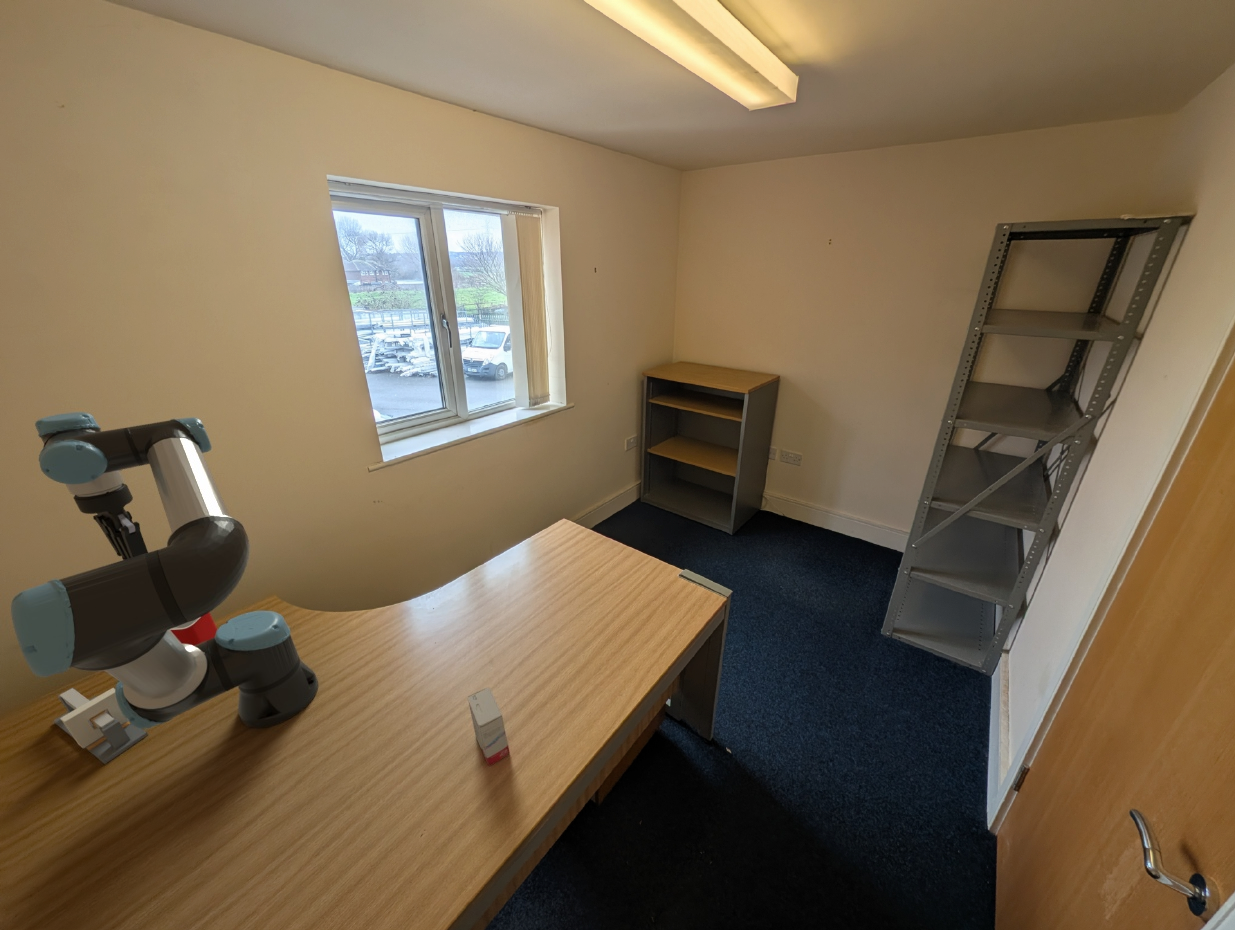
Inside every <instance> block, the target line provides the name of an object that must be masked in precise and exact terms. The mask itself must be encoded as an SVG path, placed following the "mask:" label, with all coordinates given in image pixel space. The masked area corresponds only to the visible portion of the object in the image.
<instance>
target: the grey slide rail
mask: <svg viewBox="0 0 1235 930" xmlns="http://www.w3.org/2000/svg"><path fill="white" fill-rule="evenodd" d="M57 697H58V699H59V701H60V703H62V704H63V706H64V708H65V709H66V711H67V712H66V713H65V712H64V714H62V715H60V716H59V717H56V718H55V719H53V720H52V722H53V724H55V725H56V726H58V727H59V728H61V730H63V731H64V732H65V734H66V733H67V734H68V735H69V736H70V737H71V738H72V739H74V737H73V736H72V735H71V733H70V732H69V730H68V729H67V728H66V726H65V725H64V723H63V722H62V720H61V719H60V718H61V717H63V716H65V715H67V714H68V713H70V712H72V711H74V710H75V709H77V708H79V707H80V706H82V705H84V704H86V703H87V702H89V701H91V700H93V699H94V698H96V697H98V696H97V695H95V696H93V697H92V698H89V699H88V698H87V697H85V696H84V695H83V694H81V693H80V692H79V691H78V690H77V689H75V687H71V688H68V690H66V691H64V692H62V693H60V694H57ZM88 722H89V723H90V725H93V726H94V727H98V728H99V729H100V730H101V732H102V733H103V735H104V736H102V737H101V738H99V739H97V740H96V741H94V742H93V743H91V744H90V745H88V746H86V747H85V748H84V749H86V750H87V752H89V753H90V754H92V755H93V756H94V757H96V759H98V760H99V761H100V762H101V763H103V764H104V765H106V764H107V763H109V762H110V761H112V760H114V759H115V758H116V757H118V756H119V755H121V754H122V753H124V752H126V751H127V750H128V749H129V748H131V747H132V746H135V744H137V743H138V742H140V741H142V739H144V738H146V737H147V736H149V734H148V732H147V731H146V730H145V729H140V728H137V727H135V726H133V725H132V724H131V723H130V722H129V720H127V721H126V722H124V723H123V724H120V722H119V721H118V720H116V719H115V718H112V717H111V716H110V715H109V714H108V713H107V711H106V710H104V711H102V712H100V713H99V714H97V715H95V716H94V717H92V718H90V719H89V720H88Z"/></svg>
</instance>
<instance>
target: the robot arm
mask: <svg viewBox="0 0 1235 930" xmlns="http://www.w3.org/2000/svg"><path fill="white" fill-rule="evenodd" d="M34 426H35V428H36V431H37V433H38V434H37V436H38V437H39V438H40V439H41V441H42V442H43V446H42V450H40V452H39V455H38V462H39V468H40V471H41V472H42V473H43V474H44V475H45V477H47V478H49V479H50V480H52V481H55V482H56V483H60V484H64V485H65V487H67V489H68V491H69V494H71V495H73V500H74V502H75V504H76V506H77V507H78V509H79V511H80V512H81V513H83V514H86V515H93V514H94V515H93V516H92V519H93V520H95V522H96V524H97V525H98V526H99V527H100V529H101V530H102V532H103V534H104V535H105V537H106V538H107V540H108V541H109V544H111V546H112V548H113V549H114V552H115V553H116V555H117V557H121V559H122V560H119V561H117V562H112V563H109V564H106V565H102V566H98V567H97V568H96V567H95V568H92V569H90V570H86V571H83V572H79V573H76V574H73V575H70V576H65V577H63V578H60V579H58V578H54V579H50V580H48V581H47V582H45V583H43V584H40V585H36V586H33V587H30V588H27V589H25V590H23V591H21V592H19V593H17V594H16V595H15V596H14V597H13V599H12V600H11V605H10V614H11V615H10V616H11V621H12V624H13V629H14V631H15V632H14V633H15V636H16V640H17V641H18V645H19V647H20V648H19V649H21V652H22V655H23V657H24V659H25V662H26V664H27V666H28V667H29V669H30V671H31V672H32V674H33V675H35V676H36V677H39V678H47V677H50V676H53V675H56V674H58V675H59V674H63V673H66V672H67V671H68V670H69V669H71V668H73V669H77V670H80V671H85V672H103V671H104V672H106V674H108V675H110V676H111V677H113V678H114V679H116V680H117V683H116V684H115V688H114V689H115V694H116V699H117V703H118V705H119V708H120V710H121V712H122V714H123V715H124V716H125V718H128V720H129V722H130V723H131V724H132V725H133V726H135V727H137V728H140V729H143V730H146V729H147V730H148V729H151V728H153V727H156V726H158V725H161V724H164V723H167V722H169V721H171V720H172V719H174V718H176V717H178V716H179V715H182V714H184V713H185V712H188V711H189V710H191V709H194V708H196V707H198V706H200V705H202V704H204V703H206V702H208V701H210V700H212V699H213V698H214V699H215V698H216V697H218V696H220V695H222V694H224V693H226V692H229V691H232V690H233V689H235V688H237V687H238V689H239V694H238V707H237V708H238V709H237V712H238V715H239V717H240V719H241V722H242V723H243V724H244V725H245V726H246V727H249V728H253V729H262V728H263V729H264V728H269V727H270V728H271V727H272V726H275V725H276V726H277V725H279V724H281V723H284V722H285V721H287V720H289V719H291V718H292V717H294V716H296V715H298V714H299V713H300V712H301V711H303V710H304V709H305V708H306V707H307V706H308V705H309V704H310V703H311V701H312V700H313V699H314V698H315V696H316V694H317V692H318V689H319V680H318V678H317V675H316V673H315V671H314V670H313V669H311V668H310V667H309V666H308V665H307V664H306V663H305V662H304V661H302V660H301V659H300V658H301V657H300V655H299V653H298V650H297V648H296V645H295V643H294V641H293V638H292V635H291V628H290V627H289V625H288V624H287V622H286V620H285V618H284V616H282V614H280V613H278V612H276V611H273V610H255V611H249V612H246V613H242V614H240V615H239V614H238V615H237V616H235V617H232V618H230V619H228V620H227V621H226V622H225V623H224V624H221V625H220V626H219V628H218V627H217V631H216V635H215V637H214V638H212V639H210V640H207V641H204V642H202V643H200V644H197V645H195V646H192V645H189V644H182V643H181V642H180V641H179V640H178V639H177V638H176V636H175V635H174V634H173V633H172V632H171V630H170V629H172V628H174V627H177V626H179V625H182V624H184V623H187V622H190V621H193V620H195V619H198V618H200V617H202V616H204V615H205V614H207V613H209V612H212V611H213V610H215V609H216V608H217V607H219V606H220V605H221V604H223V602H224V601H225V600H226V599H228V597H229V596H230V595H231V594H232V592H233V591H234V590H235V589H236V587H237V586H238V585H239V583H240V582H241V579H242V577H243V575H244V574H245V571H246V569H247V565H248V562H249V557H250V548H251V547H250V542H249V541H250V540H249V537H248V534H247V531H246V529H245V527H244V525H243V524H242V523H241V521H239V520H238V519H237V518H235V517H233V516H231V515H230V512H229V511H228V508H227V506H226V504H225V502H224V500H223V497H222V495H221V493H220V491H219V488H218V485H217V484H216V482H215V478H214V476H213V475H212V473H211V471H210V467H209V465H208V463H207V461H206V459H205V456H204V453H208V452H210V451H211V450H212V444H211V441H210V438H209V435H208V433H207V431H206V428H205V426H204V424H203V422H202V420H201V419H200V418H197V417H184V418H171V419H170V420H165V421H158V422H153V423H152V422H151V423H145V424H140V425H135V426H134V425H133V426H127V427H122V428H121V427H120V428H113V429H110V430H109V429H108V430H103V431H102V429H101V426H100V425H99V424H98V423H97V421H96V420H95V417H94V416H93V415H92V414H90V413H88V412H83V411H82V412H80V411H79V412H77V411H76V412H68V413H67V412H65V413H59V414H54V415H50V416H45V417H42V418H40V419H38V420H37V421H35V423H34ZM146 465H149V467H150V469H151V473H152V476H153V478H154V481H155V484H156V488H157V491H158V494H159V497H160V500H161V503H162V506H163V509H164V512H165V513H164V514H165V515H166V518H167V522H168V525H169V528H170V530H171V533H170V535H169V536H168V538H167V542H166V546H165V547H163V548H159V549H156V550H152V551H150V552H149V551H148V548H147V546H146V542H145V541H144V537H143V534H142V532H141V526H140V522H139V521H134V522H133V516H132V514H131V513H130V511H129V510H128V511H127V510H125V506H126V505H128V504H130V503H132V501H133V498H134V497H133V494H132V493H131V491H130V489H129V486H128V485H127V483H126V484H125V483H124V482H125V479H124V477H123V475H122V473H121V471H123V470H126V469H132V468H136V467H141V466H146Z"/></svg>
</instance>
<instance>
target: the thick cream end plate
mask: <svg viewBox="0 0 1235 930" xmlns="http://www.w3.org/2000/svg"><path fill="white" fill-rule="evenodd" d="M104 710H106V711H107V713H108V714H109V715H110V716H111V717H112V718H115V719H116V720H118V721H119V722H120V724H123V723H124V722H126V721H127V720H128V718H125V716H124V715H123V714H122V712H121V710H120V708H119V705H118V703H117V699H116V694H115V688H114V687H112V688H110V689H109V690H106V691H104V692H103V693H101V694H99V695H98V696H97V697H96V698H94V699H93V700H91V701H89V702H87V703H86V704H84V705H82V706H80V707H79V708H77V709H75V710H74V711H72V712H70V713H68V714H67V715H65V716H63V717H61V718H60V719H61V720H62V722H63V723H64V725H65V726H66V728H67V729H68V730H69V732H70V733H71V735H72V736H73V737H74V738H73V740H75V741H76V743H77V745H78V746H79V747H81V748H82V749H86V748H85V747H86V746H88V745H90V744H91V743H93V742H94V741H96V740H97V739H99V738H101V737H102V736H104V735H103V733H102V732H101V730H100V729H99V728H98V727H94V726H93V725H90V723H89V722H88V720H89V719H90V718H92V717H94V716H95V715H97V714H99V713H100V712H102V711H104Z"/></svg>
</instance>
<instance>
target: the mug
mask: <svg viewBox="0 0 1235 930" xmlns="http://www.w3.org/2000/svg"><path fill="white" fill-rule="evenodd" d="M170 630H171V632H172V633H173V634H174V635H175V636H176V638H177V639H178V640H179V641H180V642H181V643H182V644H189V645H192V646H195V645H197V644H200V643H202V642H204V641H207V640H210V639H212V638H214V637H215V635H216V631H217V630H218V627H217V625H216V623H215V622H214V619H213V617H212V615H211V613H210V612H209V613H207V614H205V615H204V616H202V617H200V618H198V619H195V620H193V621H190V622H187V623H184V624H182V625H179V626H177V627H174V628H172V629H170Z"/></svg>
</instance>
